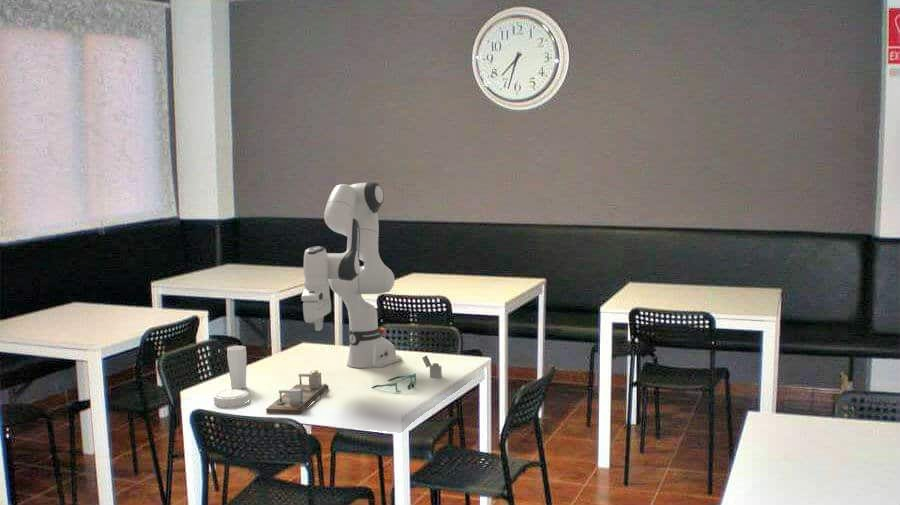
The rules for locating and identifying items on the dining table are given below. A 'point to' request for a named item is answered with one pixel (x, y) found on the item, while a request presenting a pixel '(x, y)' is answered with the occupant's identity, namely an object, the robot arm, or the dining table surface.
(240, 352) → the drinking glass
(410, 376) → the teal eyeglasses
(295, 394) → the fixed leg
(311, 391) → the gauge board
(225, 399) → the white round disc
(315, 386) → the slider leg
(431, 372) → the lighter
